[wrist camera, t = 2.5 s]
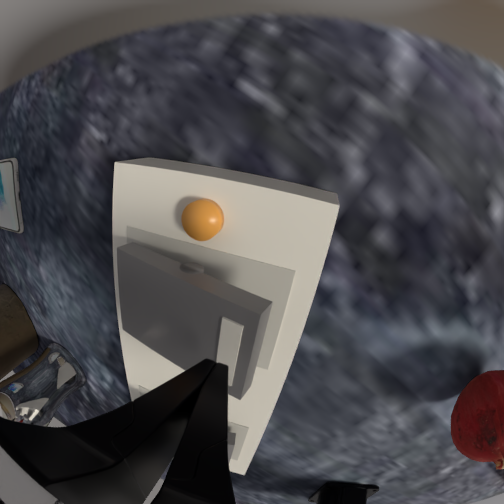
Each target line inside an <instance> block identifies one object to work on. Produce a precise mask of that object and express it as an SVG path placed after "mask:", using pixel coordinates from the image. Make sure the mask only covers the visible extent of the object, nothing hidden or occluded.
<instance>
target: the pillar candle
mask: <svg viewBox="0 0 504 504" xmlns="http://www.w3.org/2000/svg"><path fill="white" fill-rule="evenodd" d="M37 348H38V338H37V335H36V331H35V329H34V327H33V324H32V322H31V321H30V319H29V317H28V314H27V312H26V310H25V308H24V306H23V304H22V302H21V301H20V299H19V298H18V297H17V296H16V294H15V293H14V292H13V291H12V290H11V289H10V288H9V287H8V286H7V285H5V284H1V285H0V380H1V379H2V378H3V377H4V376H6V375H7V374H8V373H9V372H11V371H12V370H13V369H14V368H15V367H17V366H18V365H19V364H20V363H22V362H23V361H24V360H25V359H27V358H28V357H29V356H31V355H32V354H33V353H35V352H36V350H37Z"/></svg>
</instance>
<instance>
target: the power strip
mask: <svg viewBox="0 0 504 504" xmlns="http://www.w3.org/2000/svg"><path fill="white" fill-rule="evenodd" d="M339 206H340V205H339V200H338V196H337V193H333V192H329V191H325V190H321V189H317V188H313V187H309V186H305V185H301V184H296V183H292V182H287V181H283V180H278V179H274V178H269V177H264V176H260V175H255V174H250V173H244V172H239V171H234V170H229V169H223V168H217V167H212V166H206V165H199V164H193V163H187V162H180V161H173V160H166V159H158V158H151V157H149V158H141V159H133V160H126V161H119V162H115V165H114V181H113V212H112V235H113V266H114V282H115V295H116V306H117V315H118V324H119V332H120V339H121V346H122V353H123V359H124V365H125V370H126V376H127V381H128V386H129V391H130V395H131V400H132V401H133V400H134V399H136V398H138V397H140V396H142V395H144V394H145V393H147V392H149V391H151V390H153V389H154V388H156V387H158V386H160V385H161V384H163V383H165V382H167V381H168V380H170V379H172V378H174V377H175V376H177V375H179V374H180V373H182V372H184V371H185V370H184V369H182V368H180V367H179V366H177V365H175V364H174V363H172V362H171V361H169V360H167V359H166V358H164V357H163V356H161V355H159V354H158V353H156V352H155V351H153V350H152V349H150V348H149V347H147V346H146V345H144V344H143V343H141V342H140V341H138V340H137V339H135V338H134V337H133V336H131V335H130V334H128V333H127V332H125V331H124V330H123V329H122V320H121V310H120V299H119V286H118V269H117V247H120V246H123V245H125V244H128V243H131V242H135V243H137V244H139V245H141V246H144V247H146V248H148V249H150V250H152V251H155V252H157V253H159V254H161V255H164V256H166V257H168V258H170V259H172V260H175V261H177V262H179V263H182V264H183V263H186V262H194V263H198V264H200V265H202V266H203V267H204V273H205V274H207V275H209V276H212V277H214V278H216V279H219V280H221V281H223V282H226V283H228V284H231V285H233V286H235V287H238V288H240V289H243V290H245V291H248V292H250V293H252V294H255V295H257V296H260V297H262V298H265V299H267V300H270V301H272V302H273V303H272V307H271V311H270V315H269V319H268V323H267V327H266V331H265V335H264V339H263V343H262V347H261V350H260V354H259V358H258V362H257V366H256V369H255V373H254V377H253V381H252V384H251V387H250V388H249V389H248V391H247V392H246V393H245V395H244V396H243V397H242V399H241V400H239V399H237V398H235V397H233V396H231V395H229V394H228V432H232V433H236V438H235V446H234V449H233V453H232V456H231V459H230V462H229V470H230V471H231V472H235V473H238V474H241V475H245V473H246V471H247V469H248V467H249V464H250V462H251V460H252V458H253V456H254V453H255V451H256V449H257V447H258V445H259V442H260V440H261V438H262V435H263V433H264V431H265V428H266V426H267V424H268V421H269V419H270V416H271V414H272V412H273V409H274V407H275V404H276V402H277V399H278V397H279V394H280V392H281V389H282V386H283V384H284V381H285V379H286V376H287V373H288V371H289V368H290V365H291V363H292V360H293V357H294V354H295V352H296V349H297V346H298V343H299V340H300V337H301V334H302V331H303V329H304V326H305V323H306V320H307V317H308V314H309V310H310V307H311V304H312V301H313V298H314V295H315V292H316V288H317V285H318V282H319V279H320V275H321V272H322V269H323V265H324V262H325V258H326V255H327V251H328V248H329V244H330V240H331V237H332V233H333V229H334V226H335V222H336V218H337V214H338V210H339Z"/></svg>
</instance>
